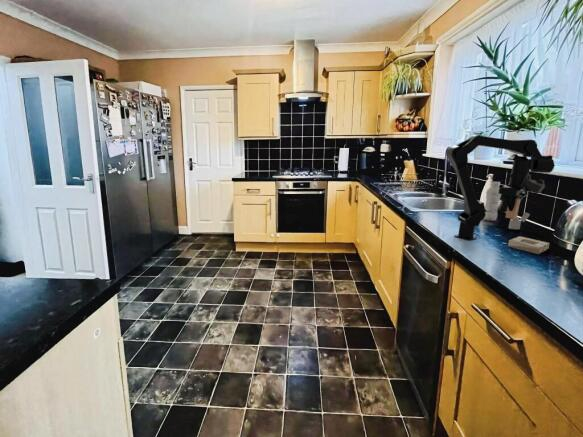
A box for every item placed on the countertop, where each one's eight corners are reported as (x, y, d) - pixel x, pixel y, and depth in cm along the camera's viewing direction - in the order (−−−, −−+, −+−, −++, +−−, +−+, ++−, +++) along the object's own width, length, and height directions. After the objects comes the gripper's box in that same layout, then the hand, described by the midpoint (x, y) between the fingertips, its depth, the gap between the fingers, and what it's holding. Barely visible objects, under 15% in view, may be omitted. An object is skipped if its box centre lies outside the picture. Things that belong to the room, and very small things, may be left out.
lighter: (509, 228, 150) (513, 212, 148) (508, 227, 152) (511, 211, 150) (526, 230, 149) (530, 213, 147) (524, 229, 151) (528, 212, 149)
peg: (513, 218, 129) (517, 199, 127) (505, 217, 131) (509, 198, 129) (516, 218, 131) (520, 198, 129) (508, 216, 133) (512, 197, 131)
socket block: (538, 254, 117) (539, 247, 116) (507, 246, 125) (509, 240, 124) (548, 249, 123) (549, 243, 122) (518, 242, 130) (519, 236, 130)
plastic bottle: (481, 218, 170) (488, 180, 165) (496, 220, 166) (504, 182, 161) (480, 220, 164) (487, 182, 160) (495, 222, 161) (503, 183, 156)
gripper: (535, 175, 115) (526, 217, 119) (553, 173, 125) (544, 211, 129) (501, 172, 123) (494, 211, 127) (520, 170, 134) (513, 206, 138)
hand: (512, 210), depth 130 cm, fingers closed on peg, 3 cm apart
